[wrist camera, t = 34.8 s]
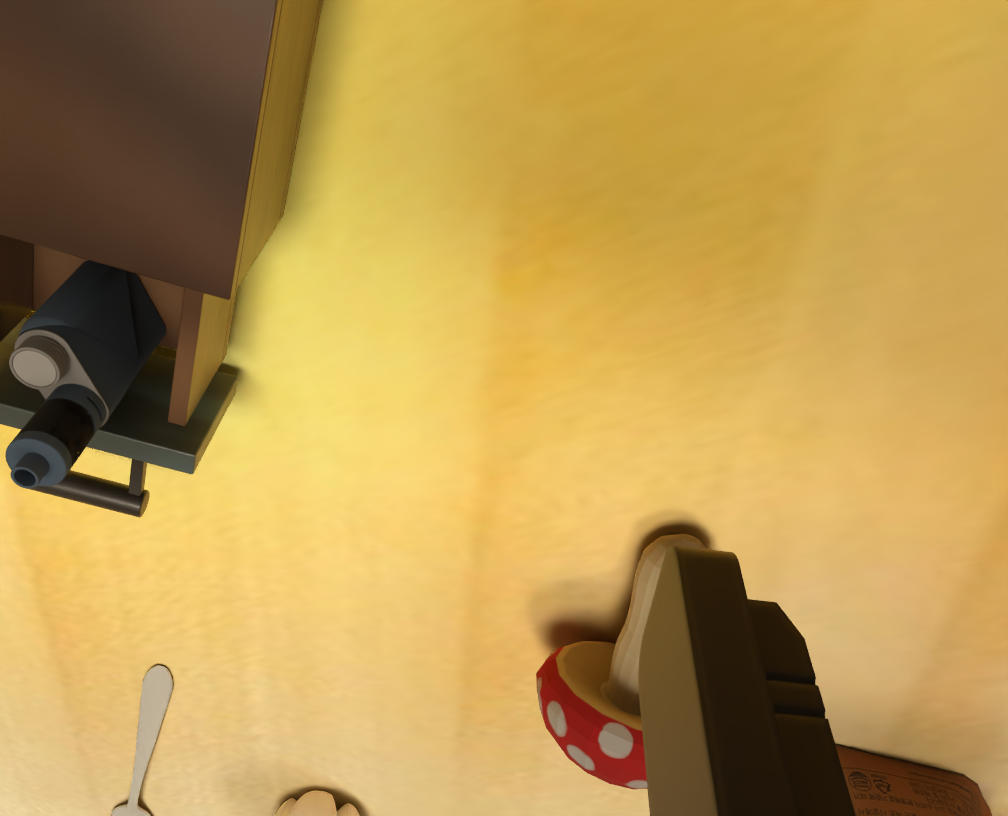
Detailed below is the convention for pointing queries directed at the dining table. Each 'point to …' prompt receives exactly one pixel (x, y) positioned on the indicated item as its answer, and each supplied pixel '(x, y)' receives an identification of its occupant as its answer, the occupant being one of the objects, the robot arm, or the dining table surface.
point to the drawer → (152, 394)
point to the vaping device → (79, 366)
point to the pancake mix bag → (907, 788)
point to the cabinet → (152, 130)
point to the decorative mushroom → (606, 686)
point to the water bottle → (315, 806)
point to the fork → (147, 732)
